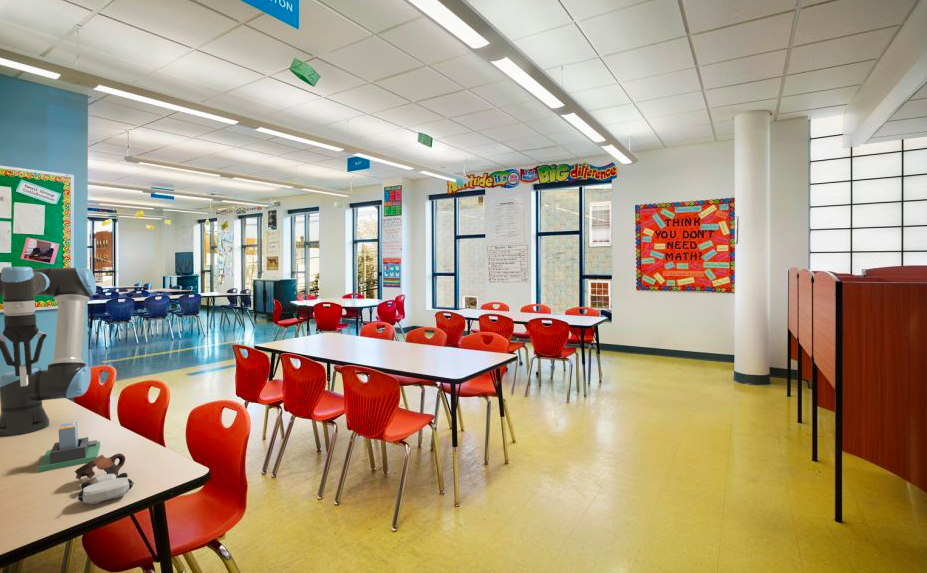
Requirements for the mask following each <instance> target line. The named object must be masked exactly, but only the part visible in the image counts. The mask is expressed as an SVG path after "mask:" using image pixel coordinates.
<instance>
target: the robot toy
mask: <svg viewBox="0 0 927 573" xmlns="http://www.w3.org/2000/svg"><path fill="white" fill-rule="evenodd" d="M129 475H130V473H129V472H123V473H120V474H118V478H117V479H116V475H115V474H107V473H106V474H103V475H100V476H97V477H95V478H94V479H93V481H92V482H93V483H92V482H91V481H84V482H82V483H80V484H79V485H78V487H79V488H81V490H80V491H79V493H78V494H77V496H76V499H77V500H78V501H80V502H81V503H83V504H90V505H95V504H96V505H97V504H99V503H100V502H103V501H107V500H110V499H118V498H121V497H123V496H124V495H125V494H127V493H129V491H130V490H132V487H133V486H134V485H135V484H136V482H135V481H133V480H132V479H130V478H128V476H129Z"/></svg>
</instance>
